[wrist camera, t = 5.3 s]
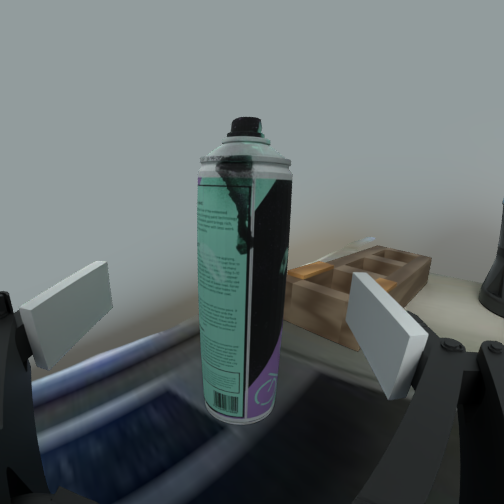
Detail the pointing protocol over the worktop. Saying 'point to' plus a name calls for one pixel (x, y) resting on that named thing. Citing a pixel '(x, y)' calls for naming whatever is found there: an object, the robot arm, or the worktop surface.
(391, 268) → the rack
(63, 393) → the worktop surface
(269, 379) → the spray can
